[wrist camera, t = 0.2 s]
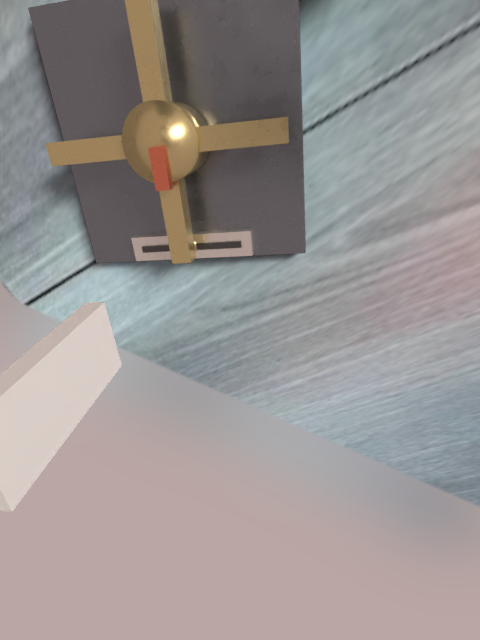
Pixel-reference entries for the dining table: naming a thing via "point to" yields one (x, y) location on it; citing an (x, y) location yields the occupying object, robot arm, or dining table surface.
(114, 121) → the stand
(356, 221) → the dining table surface
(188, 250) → the capstan
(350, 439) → the dining table surface
